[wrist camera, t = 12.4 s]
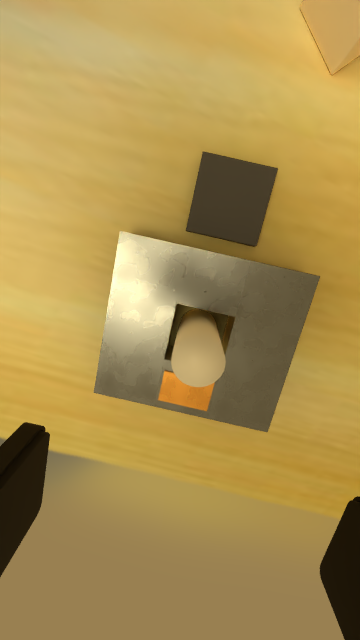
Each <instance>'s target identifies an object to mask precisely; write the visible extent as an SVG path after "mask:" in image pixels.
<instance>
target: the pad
mask: <svg viewBox="0 0 360 640" xmlns="http://www.w3.org/2000/svg"><path fill="white" fill-rule="evenodd" d="M277 170H278V168H274V167H269V166H265V165H261V164H256V163H252V162H247V161H243V160H239V159H234V158H230V157H225V156H221V155H217V154H212V153H208V152H203V154H202V158H201V163H200V168H199V172H198V177H197V181H196V186H195V191H194V195H193V200H192V205H191V209H190V214H189V219H188V223H187V228H186V231H189V232H193V233H198V234H202V235H206V236H211V237H215V238H220V239H224V240H228V241H233V242H237V243H242V244H246V245H250V246H257V242H258V239H259V235H260V232H261V228H262V224H263V221H264V217H265V214H266V210H267V206H268V203H269V199H270V195H271V192H272V188H273V185H274V181H275V177H276V174H277Z"/></svg>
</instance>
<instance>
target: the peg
mask: <svg viewBox="0 0 360 640" xmlns="http://www.w3.org/2000/svg"><path fill="white" fill-rule="evenodd" d="M225 364H226V360H225V355H224V351H223V347H222V344H221V340H220V337H219V333H218V330H217V326H216V322H215V320H214V318H213V316H212V315H211V314H210V313H208V312H207V311H204V310H201V309H194V310H191V311H189V312H187V313H186V314H185V315H184V316H183V317H182V318H181V320H180V324H179V328H178V332H177V336H176V340H175V345H174V349H173V353H172V358H171V365H172V369H173V372H174V374H175V375H176V377H177V378H178V379H179V380H180V381H182V382H183V383H185V384H187V385H189V386H192V387H205V386H208V385H211V384H213V383H214V382H216V381H217V380H218V379H219V378H220V377H221V375H222V374H223V372H224V369H225Z"/></svg>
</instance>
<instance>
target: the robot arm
mask: <svg viewBox="0 0 360 640" xmlns="http://www.w3.org/2000/svg"><path fill="white" fill-rule="evenodd" d="M49 439H50V434H49V433H48V432H45V427H44V426H41V425H36V424H32V423H27V422H26V423H23V424H22V425H21V426H20V427H19V428H18V429H17V430H16V431H15V432H14V433H13V434H12V435H11V436H10V437H9V438H8V439H7V440H6V441H5V442H4V443H3V444H2V445H1V446H0V577H1V575H2V573H3V571H4V570H5V568H6V566H7V565H8V563H9V562H10V560H11V558H12V556H13V555H14V553H15V551H16V550H17V548H18V546H19V545H20V543H21V541H22V539H23V538H24V536H25V535H26V533H27V531H28V530H29V528H30V526H31V525H32V523H33V521H34V520H35V518H36V516H37V514H38V512H39V510H40V507H41V503H42V496H43V487H44V480H45V471H46V463H47V455H48V447H49ZM320 575H321V580H322V583H323V585H324V588H325V590H326V593H327V595H328V598H329V600H330V603H331V606H332V608H333V611H334V613H335V616H336V618H337V621H338V624H339V626H340V629H341V631H342V634H343V636H344V639H345V640H360V497H355V498H354V499H353V501H349V503H348V504H347V507H346V509H345V511H344V513H343V515H342V518H341V520H340V522H339V524H338V527H337V529H336V531H335V533H334V535H333V538H332V540H331V542H330V544H329V546H328V549H327V551H326V553H325V555H324V558H323V560H322V562H321V565H320Z"/></svg>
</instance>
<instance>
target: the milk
mask: <svg viewBox="0 0 360 640" xmlns="http://www.w3.org/2000/svg"><path fill="white" fill-rule="evenodd" d="M300 10H301V12H302V14H303V16H304V18H305V20H306V22H307V25H308V27H309V29H310V31H311V33H312V35H313V37H314V39H315V42H316V44H317V46H318V48H319V50H320V52H321V54H322V56H323V59H324V61H325V63H326V65H327V67H328V69H329V71H330V73H331V75H333V74H335V73H336V72H337V71H339V70H340V69H341V68H343V67H344V66H346V65H347V64H348V63H350V62H351V61H353V60H354V59H355V58H357V57H358V56H360V0H303V1H302V4H301V6H300Z"/></svg>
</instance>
